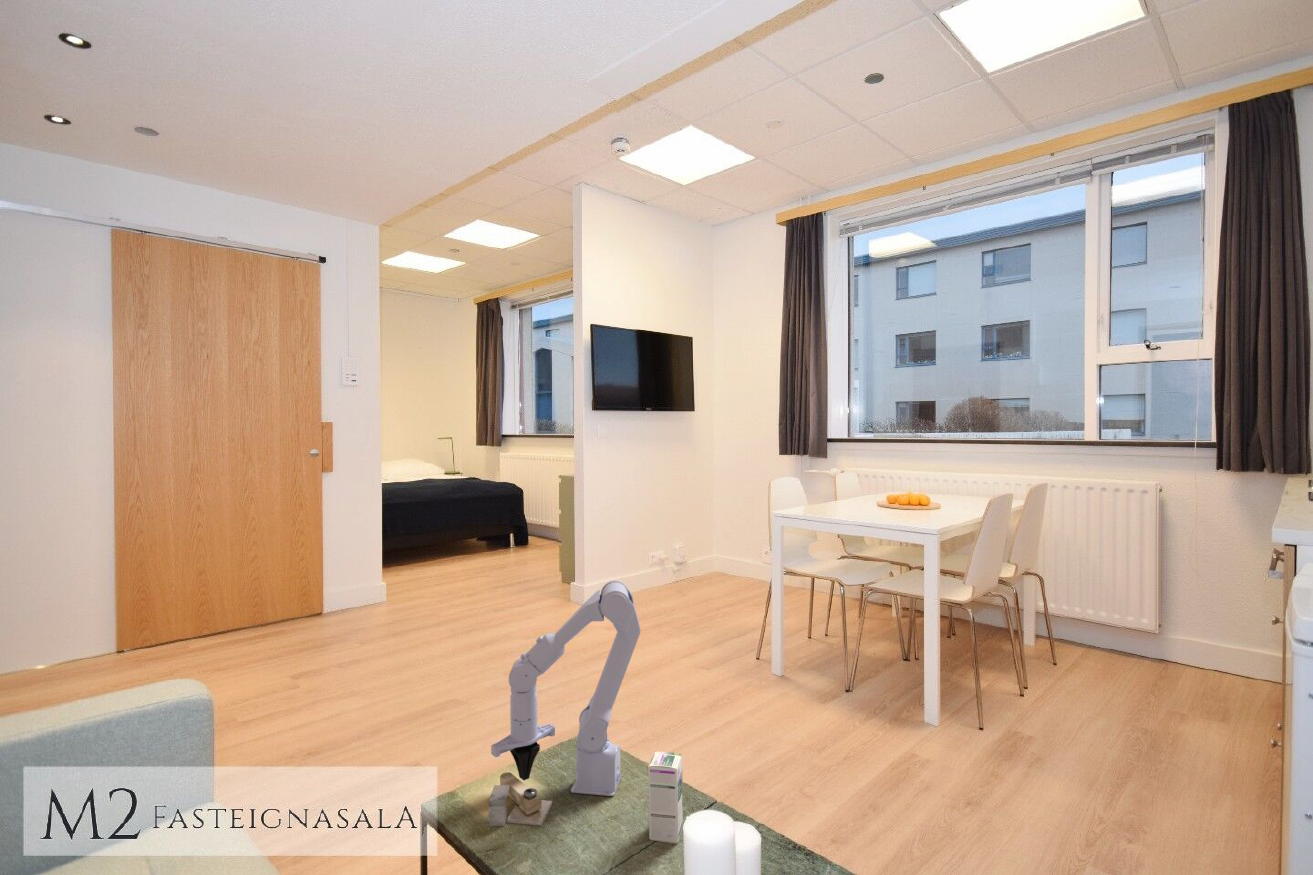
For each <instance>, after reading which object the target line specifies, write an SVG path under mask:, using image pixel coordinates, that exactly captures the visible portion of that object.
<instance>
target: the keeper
mask: <svg viewBox="0 0 1313 875" xmlns="http://www.w3.org/2000/svg"><path fill="white" fill-rule="evenodd" d="M508 793H509V785H499V784H498V785H497V784H496V785H493V788H492V791H491V795H490V797H489V800H488V813H489V815H488V819H489V820H488V822H489V823H488V824H489V825H488V826H489V827H505V826H506V823H507V800H508V797H509V796H508Z"/></svg>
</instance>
